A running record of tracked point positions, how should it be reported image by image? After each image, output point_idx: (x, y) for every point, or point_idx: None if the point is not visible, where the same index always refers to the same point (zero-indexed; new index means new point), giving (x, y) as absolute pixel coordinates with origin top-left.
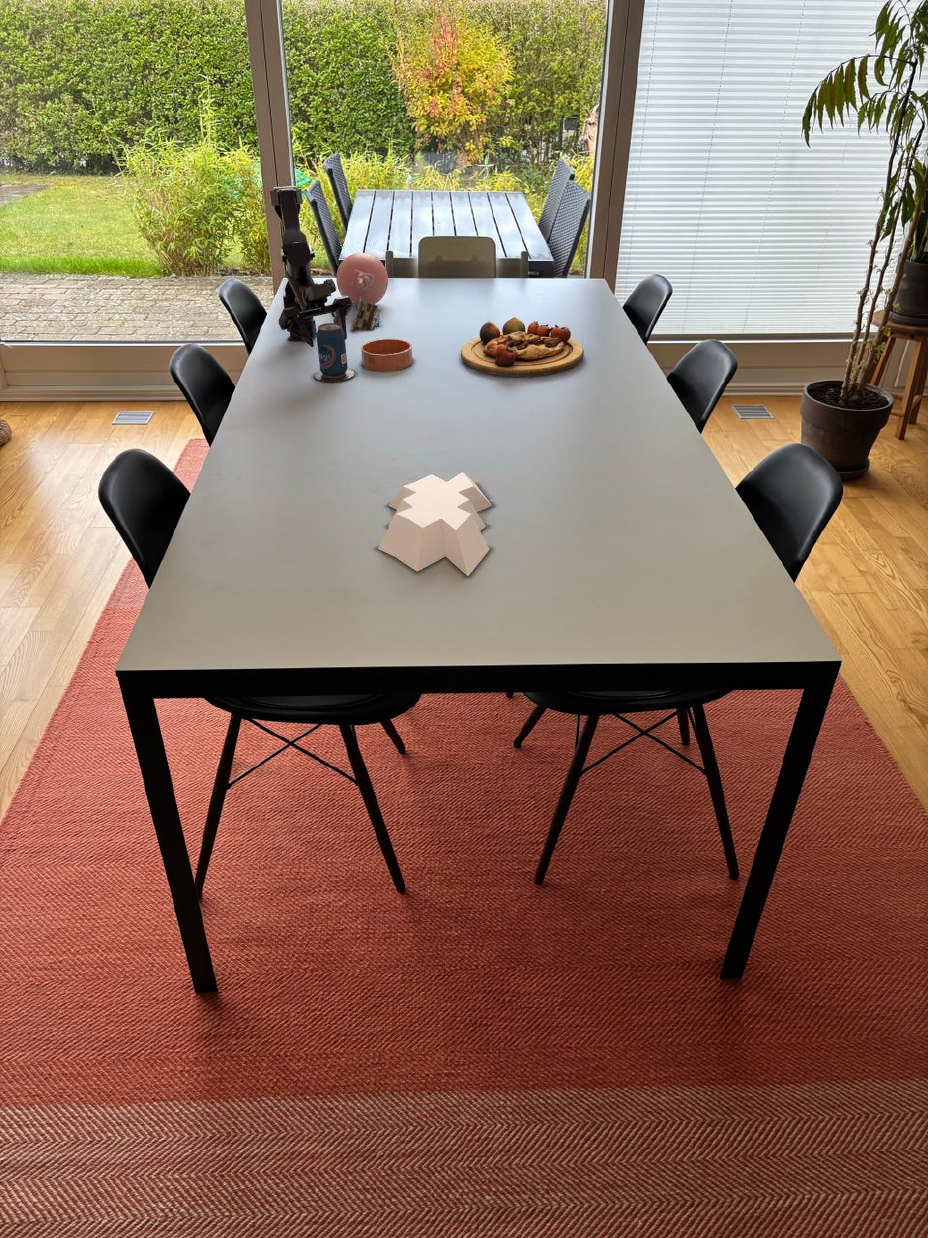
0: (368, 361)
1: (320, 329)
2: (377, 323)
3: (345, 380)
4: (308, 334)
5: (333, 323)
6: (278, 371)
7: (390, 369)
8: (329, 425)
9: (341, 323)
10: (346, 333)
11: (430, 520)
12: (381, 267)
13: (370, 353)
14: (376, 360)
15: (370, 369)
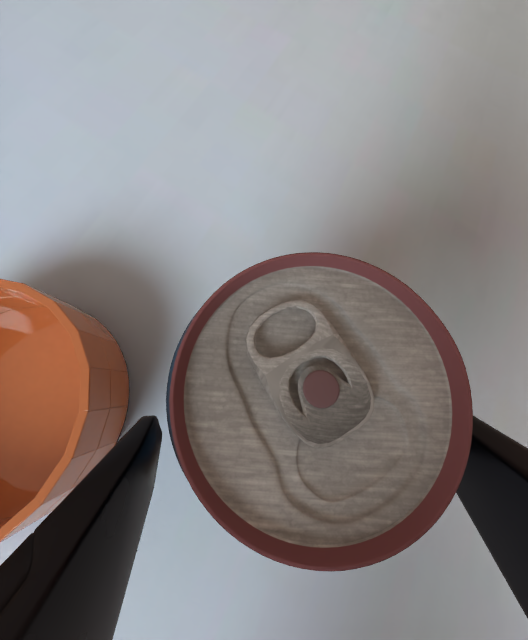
0: (112, 370)
1: (458, 351)
2: None
3: None
4: (525, 465)
5: (217, 505)
6: (466, 594)
7: (73, 306)
8: (427, 70)
9: (77, 554)
10: (123, 437)
11: None
12: None
13: (82, 356)
14: (90, 328)
15: (126, 366)
